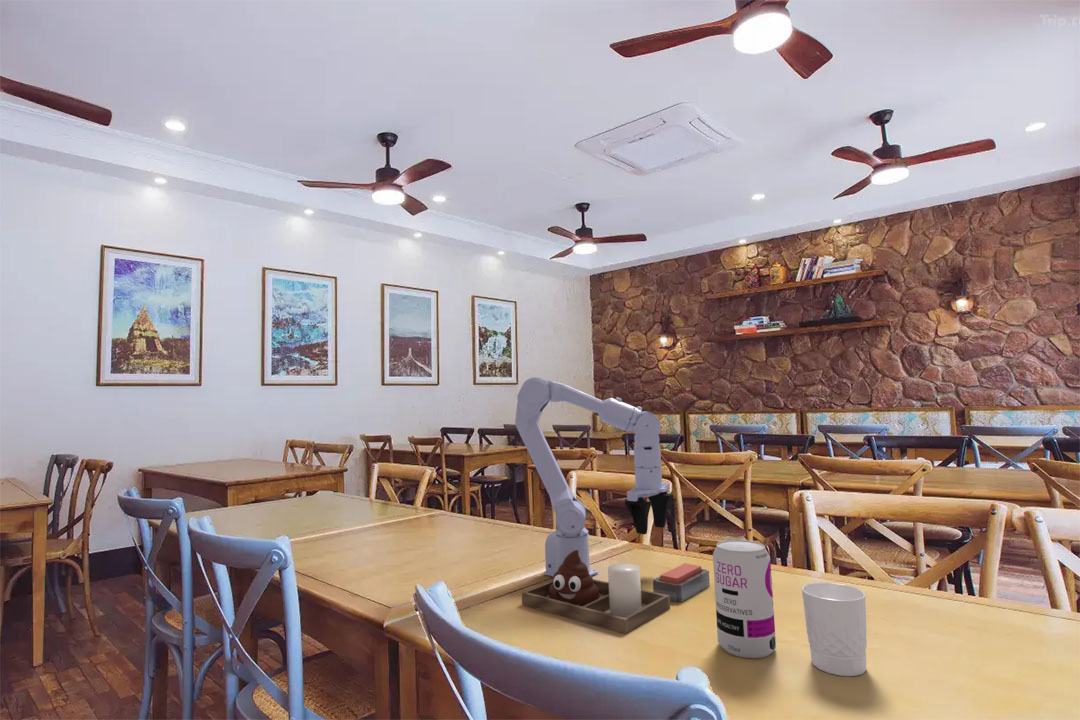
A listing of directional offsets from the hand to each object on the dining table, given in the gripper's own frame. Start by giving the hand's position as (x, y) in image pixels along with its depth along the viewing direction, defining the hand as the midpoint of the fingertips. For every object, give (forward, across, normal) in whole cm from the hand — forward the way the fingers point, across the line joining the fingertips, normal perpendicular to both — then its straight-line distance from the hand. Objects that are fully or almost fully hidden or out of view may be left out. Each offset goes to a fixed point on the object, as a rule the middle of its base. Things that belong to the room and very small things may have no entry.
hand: (651, 530), depth 123 cm
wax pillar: (+9, -23, -8) cm, 26 cm away
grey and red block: (+9, -6, -10) cm, 15 cm away
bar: (+8, -6, -10) cm, 14 cm away
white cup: (+10, -22, -42) cm, 48 cm away
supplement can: (+10, -24, -30) cm, 40 cm away
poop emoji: (+10, -22, +4) cm, 25 cm away
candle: (+10, +2, -18) cm, 20 cm away
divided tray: (+9, -23, -1) cm, 25 cm away
